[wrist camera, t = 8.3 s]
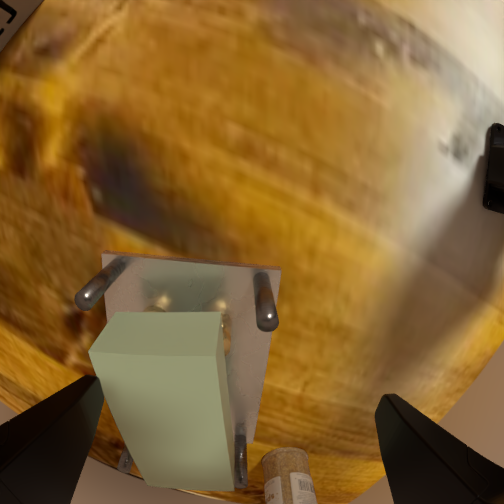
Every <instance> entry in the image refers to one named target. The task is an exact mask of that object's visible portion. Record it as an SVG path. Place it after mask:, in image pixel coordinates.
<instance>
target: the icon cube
mask: <svg viewBox="0 0 504 504" xmlns="http://www.w3.org/2000/svg"><path fill="white" fill-rule="evenodd" d="M42 1H43V0H0V52H1V51H2V49H3V48H4V47H5V45H6V44H7V43H8V41H9V40H10V39H11V37H12V36H13V35H14V34H15V32H16V31H17V30H18V29H19V27H20V26H21V25H22V24H23V22H24V21H25V20H26V19H27V18H28V17H29V15H30V14H31V13H32V12H33V11H34V10H35V9H36V8H37V7H38V5H39V4H40V3H41V2H42Z"/></svg>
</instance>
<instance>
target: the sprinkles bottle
mask: <svg viewBox="0 0 504 504" xmlns="http://www.w3.org/2000/svg"><path fill="white" fill-rule="evenodd" d="M262 466H263V470H264V482H265V486H264V490H265V500H266V504H317V501H316V496H315V491H314V486H313V481H312V478H311V476H310V471H309V466H308V454H307V453H306V452H305V451H304V450H302V449H300V448H294V447H284V448H278V449H275V450H272V451H271V452H269V453H267V454H266V455H265V456H264V457H263V459H262Z"/></svg>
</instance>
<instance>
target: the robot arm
mask: <svg viewBox="0 0 504 504" xmlns="http://www.w3.org/2000/svg"><path fill="white" fill-rule="evenodd" d="M497 130H498V131H497ZM488 202H489V205H488ZM483 206H484V208H486V209H488V210H492V211H495V212H499V213H503V214H504V126H503V125H501V124H499V123H493V124H492V127H491V140H490V152H489V162H488V171H487V178H486V185H485V192H484V198H483ZM103 402H104V394H103V390H102V386H101V382H100V379H99V378H98V377H97V376H93V375H85V376H83V377H81V378H80V379H78V380H76V381H75V382H73V383H71V384H70V385H68V386H66V387H65V388H63V389H61V390H60V391H58V392H56V393H55V394H53V395H51V396H50V397H48V398H46V399H45V400H43V401H41V402H39V403H38V404H36V405H34V406H33V407H31V408H29V409H28V410H26V411H24V412H22V413H21V414H19V415H17V416H16V417H14V418H12V419H10V421H7V422H5V423H3V424H2V425H0V504H70V503H71V500H72V497H73V494H74V491H75V488H76V485H77V483H78V480H79V477H80V474H81V471H82V469H83V466H84V463H85V460H86V458H87V455H88V453H89V450H90V448H91V445H92V442H93V439H94V436H95V432H96V428H97V425H98V421H99V417H100V413H101V410H102V406H103ZM375 422H376V428H377V433H378V439H379V446H380V452H381V456H382V460H383V464H384V468H385V471H386V475H387V478H388V482H389V486H390V489H391V493H392V497H393V501H394V504H504V468H502V467H500V466H499V465H497V464H495V463H493V462H492V461H490V460H488V459H486V458H485V457H483V456H482V455H480V454H479V453H477V452H476V451H474V450H473V449H472V448H470V447H467V445H466V444H464V443H463V442H461V441H460V440H459V439H457V438H456V437H454V436H453V435H451V434H450V433H449V432H447V431H446V430H444V429H443V428H442V427H440V426H439V425H438V424H436V423H435V422H434V421H432V420H431V419H429V418H428V417H427V416H425V415H424V414H422V413H421V412H420V411H418V410H417V409H416V408H414V407H413V406H412V405H410V404H409V403H407V402H406V401H405V400H403V399H402V398H401V397H399V396H398V395H396V394H385V395H383V396H382V398H381V400H380V402H379V405H378V407H377V409H376V412H375Z"/></svg>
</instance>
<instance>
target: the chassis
mask: <svg viewBox="0 0 504 504" xmlns="http://www.w3.org/2000/svg"><path fill="white" fill-rule="evenodd" d="M280 276H281V268H280V266H268V265H257V264H245V263H234V262H223V261H212V260H201V259H191V258H180V257H169V256H159V255H149V254H139V253H129V252H119V251H109V250H105V251H104V252H103V253H102V270H101V271H100V272H99V273H98V274H97V275H96V276H95V277H94V278H92V279H91V280H90V281H89V282H88V283H87V284H86V285H85V286H84V287H83V288H82V289H81V290H80V291H79V292H78V293H77V294H76V295H75V303H76V305H77V306H78V308H80V309H81V310H83V311H88V310H90V309H91V308H92V307H93V305H94V304H95V303H96V302H97V301H98V300H99V299H100V297H101V296H102V295H103V294H104V295H105V306H106V315H107V323H108V322H109V321H110V319H111V318H112V316H113V315H114V314H115V312H221V318H222V330H223V341H224V352H225V363H226V374H227V384H228V393H229V403H230V412H231V421H232V430H233V439H234V447H235V468H234V487H236V488H246V487H247V486H248V481H247V443H253V439H254V433H255V428H256V423H257V417H258V412H259V406H260V401H261V395H262V389H263V383H264V378H265V372H266V366H267V360H268V354H269V348H270V342H271V335H272V331H274V330H275V329H276V328H277V327H278V324H279V320H278V315H277V310H276V303H277V297H278V290H279V283H280ZM132 462H133V458H132V456H131V454H130V452H129V450H128V448H127V446H126V444H125V445H124V448H123V451H122V454H121V457H120V460H119V464H118V467H117V469H118V470H119V471H121V472H123V473H130V469H131V466H132Z"/></svg>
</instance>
